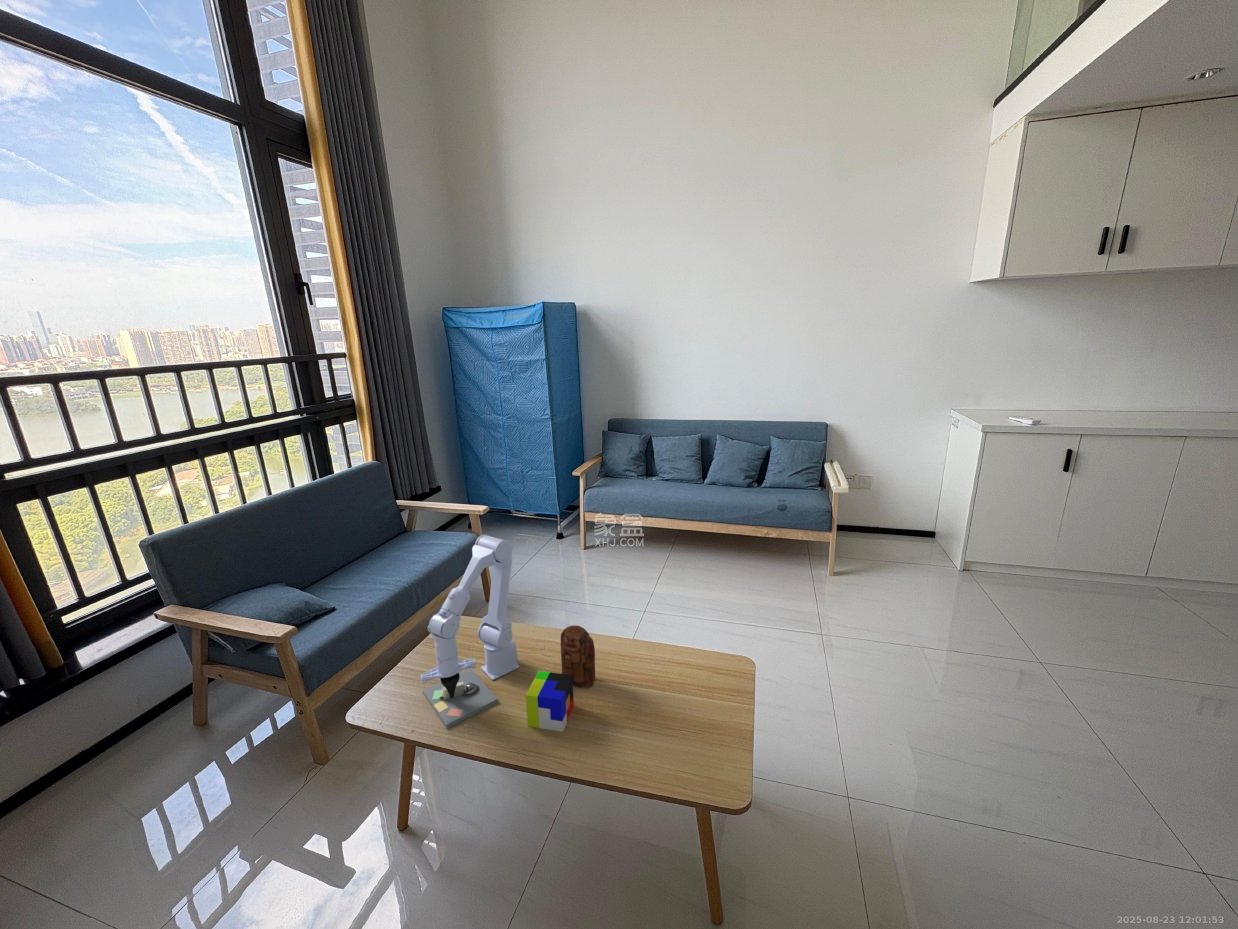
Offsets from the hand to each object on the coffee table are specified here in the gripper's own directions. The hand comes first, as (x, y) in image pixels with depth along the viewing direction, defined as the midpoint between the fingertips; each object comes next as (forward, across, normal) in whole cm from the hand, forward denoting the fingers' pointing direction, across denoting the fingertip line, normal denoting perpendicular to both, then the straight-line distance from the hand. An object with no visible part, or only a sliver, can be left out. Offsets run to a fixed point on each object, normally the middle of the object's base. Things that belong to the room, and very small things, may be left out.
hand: (451, 696), depth 140 cm
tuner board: (+3, -2, -2) cm, 4 cm away
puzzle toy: (+3, -24, +18) cm, 30 cm away
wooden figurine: (+3, -36, +8) cm, 37 cm away
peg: (+2, -2, -2) cm, 3 cm away
